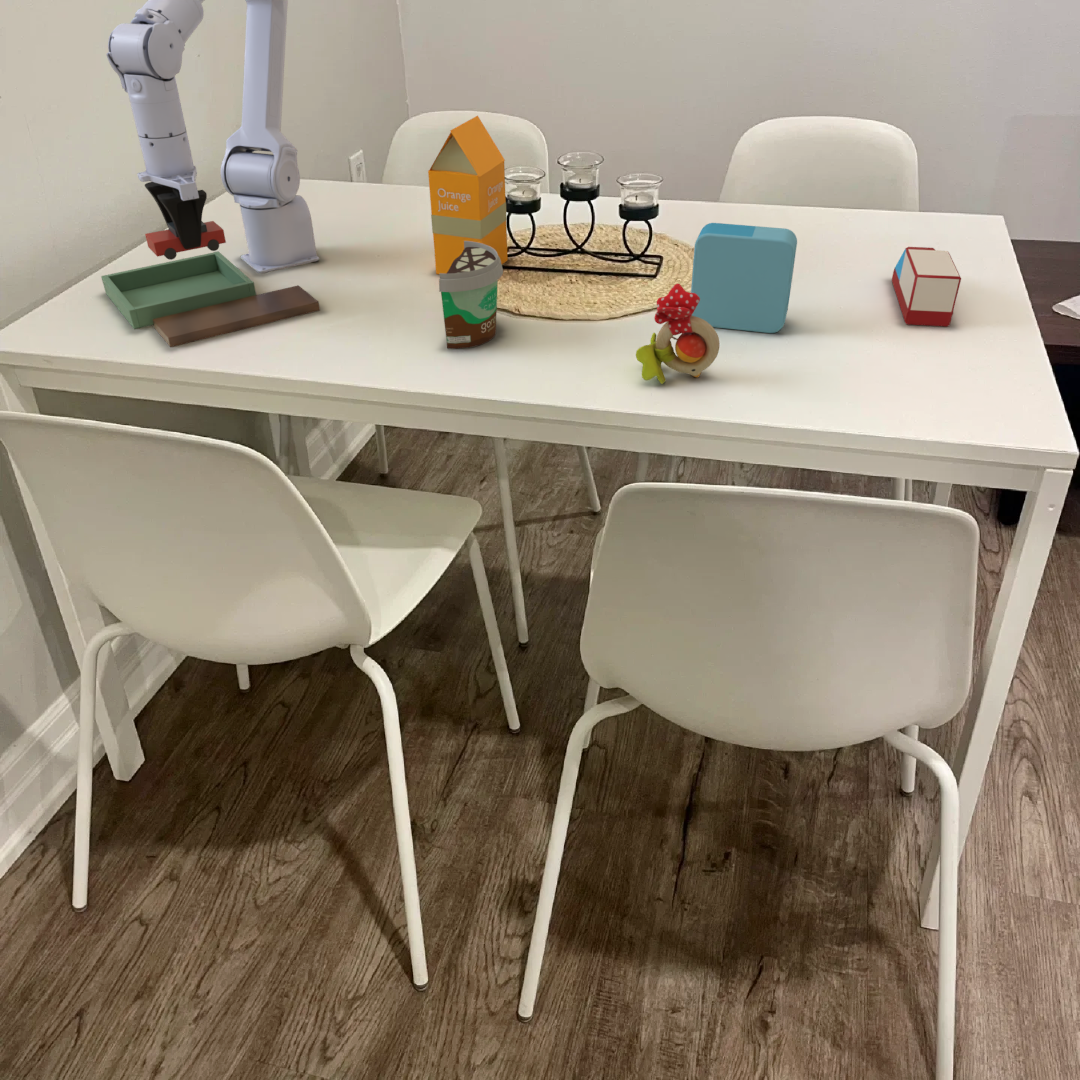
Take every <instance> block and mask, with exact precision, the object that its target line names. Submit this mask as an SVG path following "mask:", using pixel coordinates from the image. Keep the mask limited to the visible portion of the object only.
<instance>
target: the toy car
mask: <svg viewBox="0 0 1080 1080" xmlns="http://www.w3.org/2000/svg"><path fill="white" fill-rule="evenodd" d="M167 224H168V226H167V229H163V230H159V231H153V232H147V233H144V235H145V240H146V243H147V248H149V250H150V251H151V252H152V253H153V254H154V255H155V256H156V257H157V258H158V257H162V256H163V257H165V258H166V259H168V260H171V261H173V260H174V259H175V258H176V257H177V253H182V252H186V251H192V250H197V249H202V248H207V249H208V250H210V251H212V252H217V250H219V248H220V245H223V244H226V243H227V241H226V237H225V231H224V228H223V227H221V226H220V225H219V224H217V223H216V222H215V221H214V220H210V221H206V222H203V220H202V221H201V246H200V247H195V248H191V249H185V248H184V247H183V245H182V244H181V241H180V239H179V237H178V234H177V231H176V229H175V226H174V223H173V222H171V223H167ZM167 224H166V225H167Z"/></svg>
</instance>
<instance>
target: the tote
mask: <svg viewBox="0 0 1080 1080" xmlns="http://www.w3.org/2000/svg"><path fill="white" fill-rule="evenodd" d="M100 277H101V281H102V284H103V288H104V291H105V294H106V296H107V297H108V298H109V300H110V301H111V302H112V303H113V304H114V306H115V307H116V308H117V310H118V311H119V312H120V314H121V315H122V316H123V318H124V319H125V320H126V321H127V322H128V323H129V325H130V326H131V327H132V329H133V330H136V329H141V328H145V327H150V326H154V324H153V319H156V318H160V317H164V316H169V315H173V314H177V313H182V312H186V311H190V310H194V309H199V308H203V307H207V306H212V305H216V304H220V303H224V302H229V301H233V300H237V299H242V298H246V297H250V296H254V295H257V292H256V287H255V283H254V281H253V280H252V279H251V278H249V277H248V276H247V275H246V274H245V273H244V272H242V271H241V270H240V269H239V268H238V267H237V266H236V265H234V263H233V262H232V261H230V260H229V259H228V258H227V257H226V256H224V255H223V253H222V252H220V251H212V252H208V253H204V254H200V255H194V256H190V257H186V258H181V259H175V260H171V261H165V262H162V263H157V264H151V265H147V266H142V267H138V268H137V267H136V268H132V269H128V270H123V271H118V272H114V273H109V274H104V275H101V276H100Z"/></svg>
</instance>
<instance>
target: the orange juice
mask: <svg viewBox="0 0 1080 1080" xmlns="http://www.w3.org/2000/svg"><path fill="white" fill-rule="evenodd" d="M505 161H506V160H505V158H504V156H503V155H502V153H501V151H500V150H499V148H498V147H497V144H496V143H495V142H494V140H493V138H492V136H491V135H490V133H489V132H488V130H487V127H485V125H484V124H483V122H482V120H481V118H480V117H479V115H476V116H474V117H472V118H470V119H468V120H467V121H465V122H463V123H461V124H459V125H458V126H456V127H454V128H452V129H450V130H449V134H448V136H447V138H446V140H445V142H444V143H443V144H442V147H441V149H440V150H439V152H438V154H437V156H436V158H434V161H433V163H432V165H431V166H430V168H429V170H427V174H428V175H427V177H428V187H429V199H430V200H429V201H430V211H431V213H430V215H431V218H430V219H431V227H432V228H431V231H432V237H433V238H432V239H433V251H434V264H435V274H436V275H439V273H447V272H448V270H449V269H450V267H451V265H452V263H453V261H454V260H455V259H456V258H457V257H459V256H460V255H461V254H462V252H463V250H464V241H472V242H478V243H482V244H485V245H488V246H490V247H492V248H493V249H495V250H496V251H497V254H498V256H499V257H500V260H501V264H502V265H504V264H505V263H506V262H507V261H508V259H509V257H508V232H507V230H508V229H507V227H508V226H507V220H508V219H507V202H506V201H507V200H506V198H507V197H506V173H505V172H506V171H505Z"/></svg>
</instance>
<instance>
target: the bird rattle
mask: <svg viewBox="0 0 1080 1080" xmlns="http://www.w3.org/2000/svg"><path fill="white" fill-rule="evenodd" d="M699 301H700V298H699V296H698V295H697V294H695V293H691V292H688V291H686V290H685V288H684V287H683V286H682V285H681V284H680V283H675V284H674V285H673V286H672V287H671V288H670V290H669V291H668V293H667V294H666V295H665V296H661V297H659V298H657V300H656V307H657V308H656V312H655V314H654V317H653V318H654V321H655V323H656V324H658V325H662V327H661V328H660V329H659V332H658V333H657V334H656V332H653V333H652V334H651V337H650V340H649V341H650V343H649V344H645V345H643V346H639V348H637V350H636V351H635V358H636V360H637V361H638V362H639V363H641V365H642V366H641V367H642V369H641V378H642V379H643V380H644V381H650V380H652V379H653V378H654V377H656V379H657V380H658V382H659V383H660V385H664V383H665V382H666V380H667V379H666V376H665V373H664V371H663V369H662V363H663V364H664V365H666V366H667V367H668V368H669V369H672V370H674V371H675V372H677V373H681V374H688V375H690V376H692V377H694V378H699V377H700V376H701V374H702V372H703V371H705V370H707V369H708V368H709V367H710V366H712V364H713V363H714V361H715V360H716V358H717V357H718V354H719V352H720V343H721V342H720V338H719V335H718V333H717V331H716V329H715V327H712V326H711V325H710V324H709V323H708V322H706V321H705V320H703V319H701V318H699V317H695V316H692V314H693V312H694V310H695V309H696V307H697V305H698V303H699ZM677 335H679V336H678V338H677V337H674V336H677ZM671 339H673V340H676V342H675V345H674V347H673V344H672V340H671Z"/></svg>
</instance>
